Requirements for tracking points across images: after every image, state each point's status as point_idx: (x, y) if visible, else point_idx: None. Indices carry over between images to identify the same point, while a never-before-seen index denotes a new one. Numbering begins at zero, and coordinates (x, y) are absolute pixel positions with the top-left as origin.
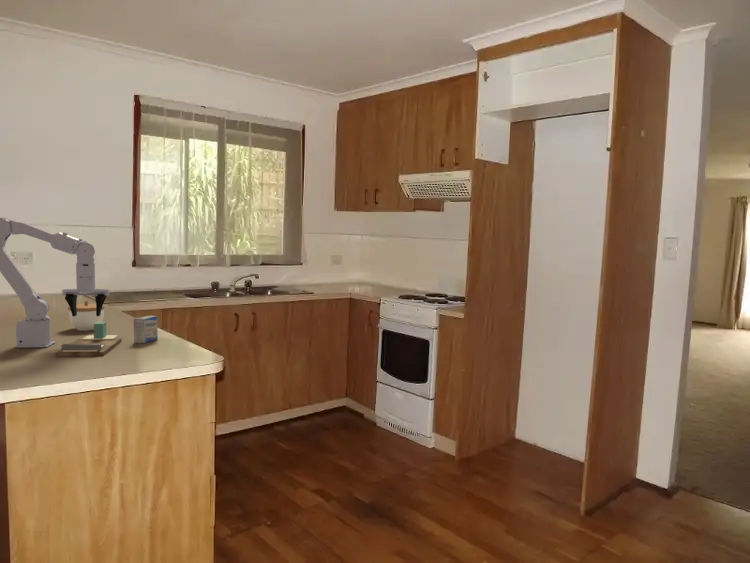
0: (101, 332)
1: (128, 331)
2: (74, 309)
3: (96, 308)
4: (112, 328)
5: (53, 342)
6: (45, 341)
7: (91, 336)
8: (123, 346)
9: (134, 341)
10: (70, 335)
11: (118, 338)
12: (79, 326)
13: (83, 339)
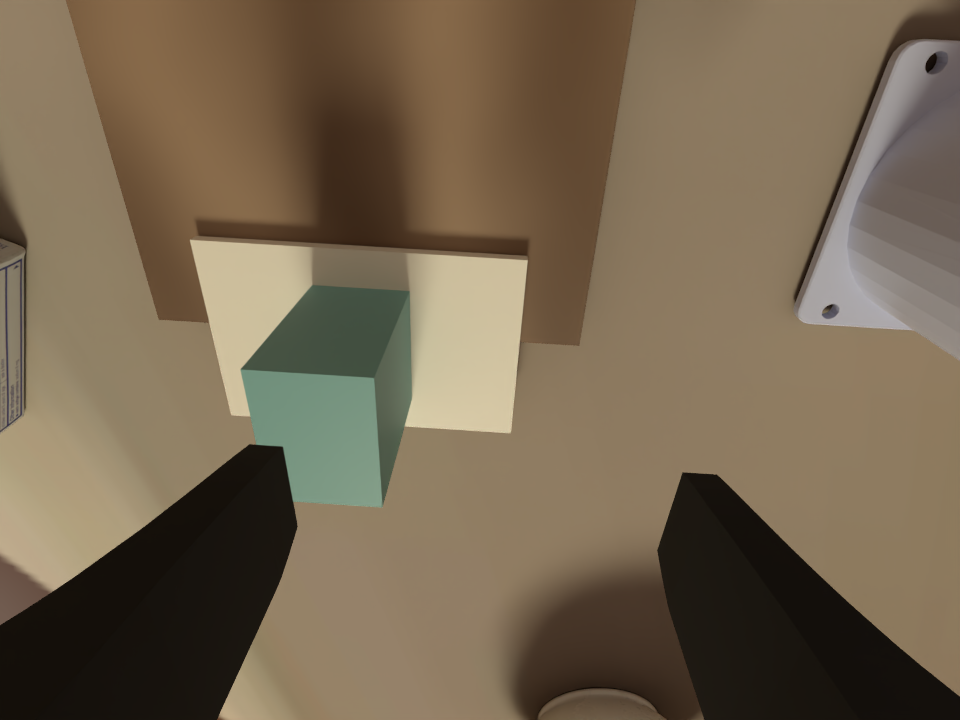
0: (308, 312)
1: (307, 640)
2: (733, 607)
3: (174, 555)
4: (443, 714)
5: (817, 264)
6: (944, 127)
7: (461, 378)
8: (17, 33)
9: (13, 246)
10: None
11: (183, 313)
12: (639, 713)
13: (511, 256)
